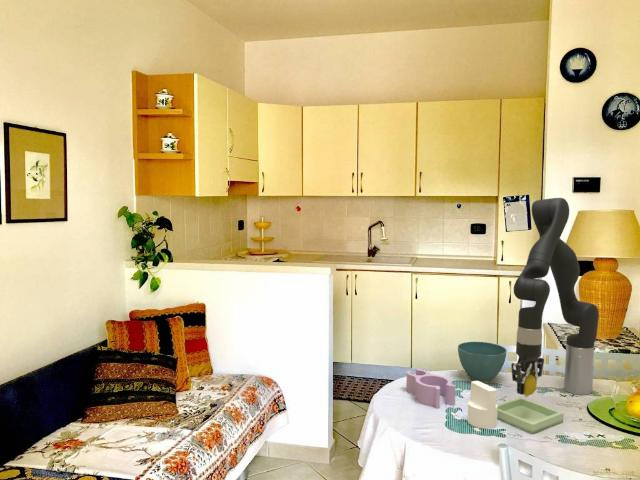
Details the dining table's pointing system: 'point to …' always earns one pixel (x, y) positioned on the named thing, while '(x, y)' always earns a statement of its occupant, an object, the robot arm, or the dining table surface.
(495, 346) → the teal bowl
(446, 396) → the clip
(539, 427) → the tray
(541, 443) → the dining table surface
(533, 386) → the lemon
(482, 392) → the base with upright slab
